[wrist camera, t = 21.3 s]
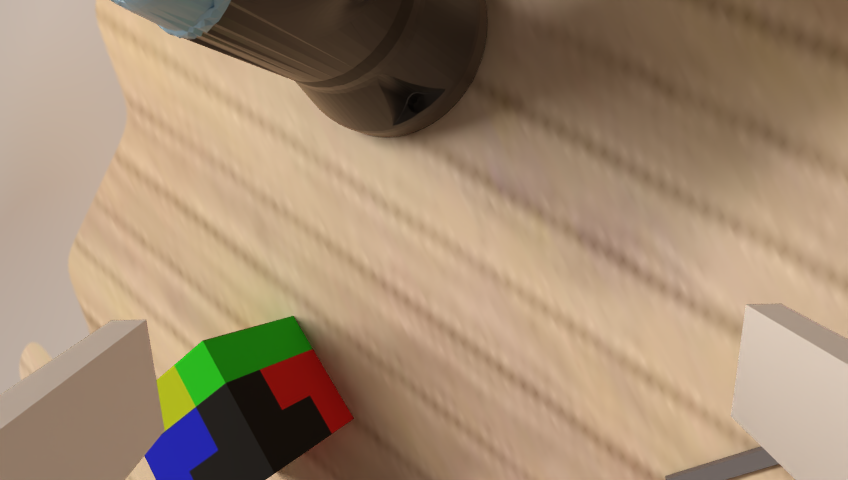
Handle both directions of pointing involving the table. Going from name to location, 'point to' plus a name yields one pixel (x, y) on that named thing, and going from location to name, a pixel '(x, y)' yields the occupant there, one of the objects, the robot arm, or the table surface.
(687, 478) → the game board
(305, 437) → the puzzle toy
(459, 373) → the table surface
